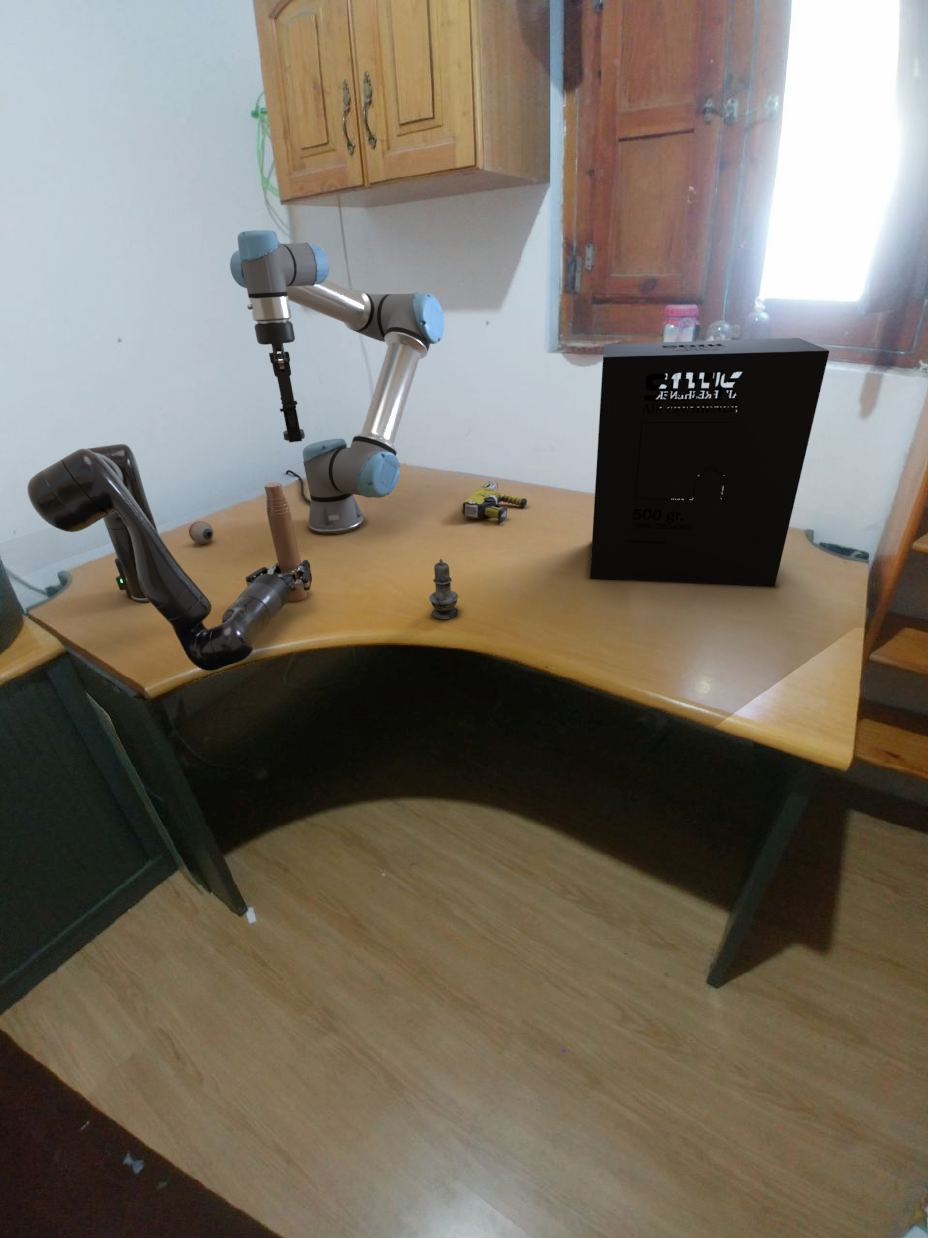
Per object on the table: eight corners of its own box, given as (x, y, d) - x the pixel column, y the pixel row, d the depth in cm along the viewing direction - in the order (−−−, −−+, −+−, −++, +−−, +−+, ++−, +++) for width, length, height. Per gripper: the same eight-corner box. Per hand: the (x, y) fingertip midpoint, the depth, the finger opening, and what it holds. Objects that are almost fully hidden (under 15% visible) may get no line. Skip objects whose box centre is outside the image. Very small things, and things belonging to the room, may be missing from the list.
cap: (294, 435, 136) (293, 428, 135) (309, 436, 134) (308, 429, 133) (280, 439, 132) (278, 432, 132) (295, 441, 130) (293, 434, 130)
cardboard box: (755, 547, 142) (798, 337, 120) (774, 586, 125) (829, 350, 102) (592, 542, 150) (603, 344, 127) (589, 578, 133) (603, 356, 110)
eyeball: (202, 548, 159) (196, 527, 156) (187, 544, 162) (181, 523, 159) (221, 540, 163) (215, 519, 160) (206, 537, 166) (200, 516, 163)
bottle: (309, 598, 131) (286, 485, 119) (287, 603, 130) (262, 489, 117) (305, 590, 135) (282, 479, 123) (284, 594, 134) (259, 483, 121)
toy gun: (534, 486, 180) (487, 479, 184) (513, 510, 160) (461, 501, 164) (533, 501, 182) (486, 494, 186) (512, 527, 162) (460, 518, 166)
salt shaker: (456, 620, 119) (452, 565, 113) (427, 618, 121) (422, 564, 115) (462, 606, 124) (458, 552, 118) (434, 604, 126) (429, 551, 120)
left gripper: (293, 584, 114) (323, 548, 129) (223, 582, 116) (261, 547, 131) (300, 618, 118) (329, 579, 132) (232, 616, 120) (268, 578, 135)
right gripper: (253, 320, 128) (276, 432, 140) (253, 325, 113) (278, 450, 125) (289, 317, 130) (309, 429, 141) (294, 322, 115) (315, 445, 127)
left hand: (295, 563), depth 131 cm, fingers closed on bottle, 4 cm apart
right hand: (294, 438), depth 133 cm, fingers closed on cap, 4 cm apart
